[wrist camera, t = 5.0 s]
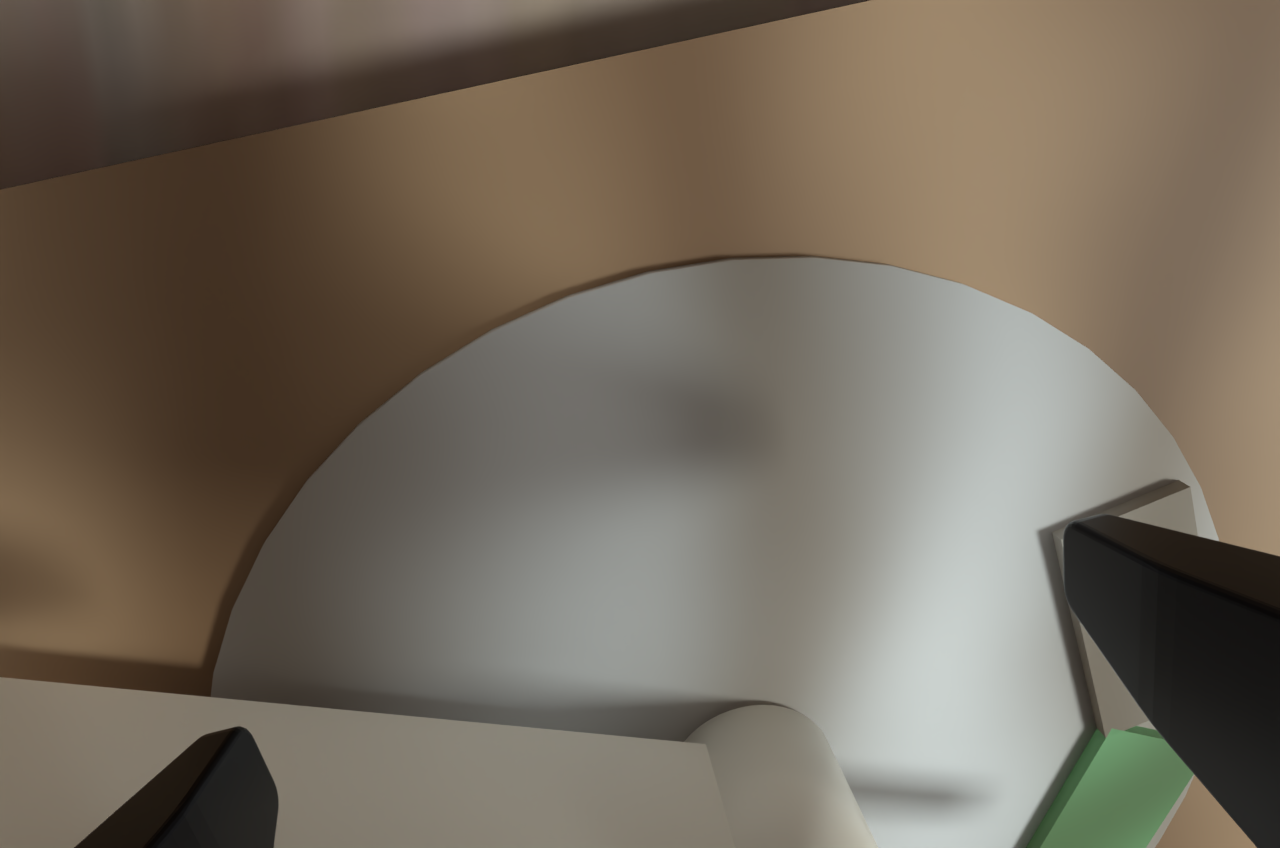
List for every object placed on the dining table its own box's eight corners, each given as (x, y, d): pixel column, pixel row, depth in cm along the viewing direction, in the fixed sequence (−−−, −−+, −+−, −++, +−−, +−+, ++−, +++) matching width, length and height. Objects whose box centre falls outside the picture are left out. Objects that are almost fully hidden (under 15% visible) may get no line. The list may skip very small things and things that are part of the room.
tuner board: (1314, -95, 12) (1457, -128, 10) (1228, 955, 20) (1300, 1043, 18) (-186, 232, 11) (-327, 259, 9) (354, 1197, 19) (336, 1315, 17)
